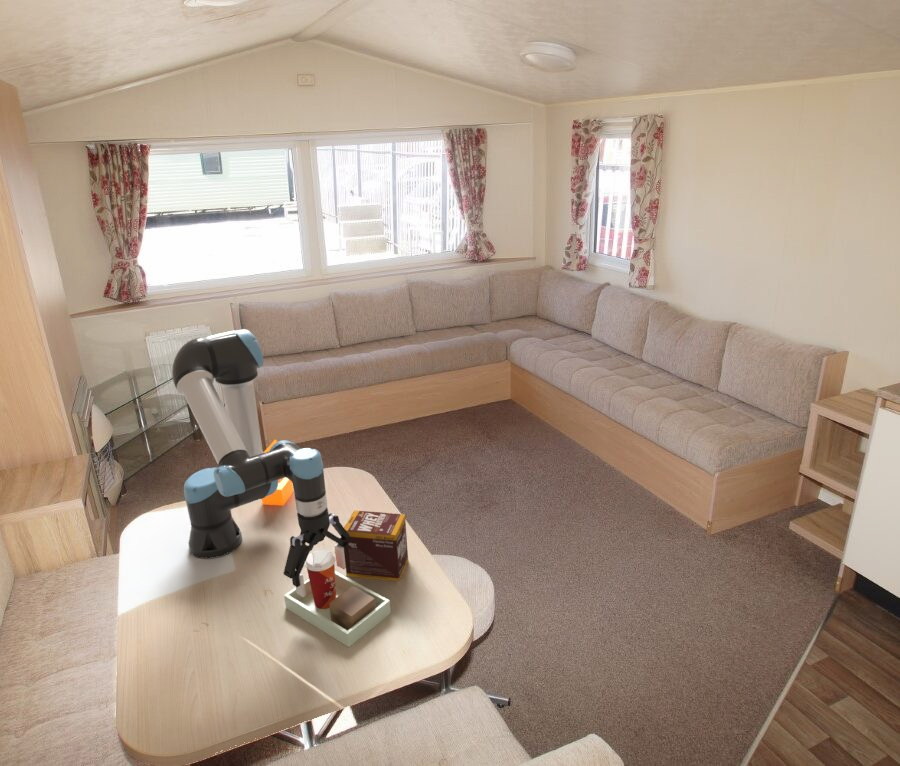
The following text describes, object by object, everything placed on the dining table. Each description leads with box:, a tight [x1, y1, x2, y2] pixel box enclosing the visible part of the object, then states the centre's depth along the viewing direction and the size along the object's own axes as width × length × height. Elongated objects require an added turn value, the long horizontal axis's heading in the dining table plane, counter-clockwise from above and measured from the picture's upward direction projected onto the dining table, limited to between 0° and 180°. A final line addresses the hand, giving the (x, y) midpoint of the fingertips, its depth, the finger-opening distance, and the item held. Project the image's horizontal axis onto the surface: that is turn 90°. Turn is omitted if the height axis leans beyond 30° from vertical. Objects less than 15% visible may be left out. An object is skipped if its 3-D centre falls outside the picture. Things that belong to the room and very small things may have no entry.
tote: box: [283, 570, 392, 648], centre depth 170 cm, size 24×15×5 cm, turn 52°
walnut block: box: [329, 586, 376, 631], centre depth 166 cm, size 8×8×6 cm
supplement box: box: [343, 510, 409, 582], centre depth 184 cm, size 10×15×16 cm
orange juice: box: [261, 439, 294, 506], centre depth 221 cm, size 8×9×20 cm
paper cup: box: [304, 549, 336, 609], centre depth 171 cm, size 8×8×14 cm
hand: (321, 580), depth 171 cm, fingers open, 13 cm apart
